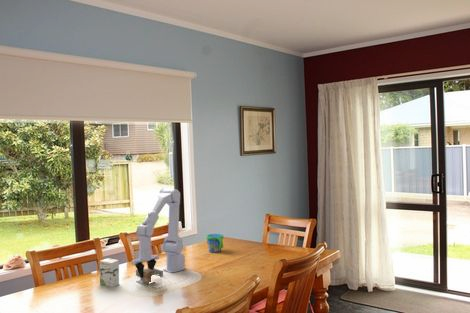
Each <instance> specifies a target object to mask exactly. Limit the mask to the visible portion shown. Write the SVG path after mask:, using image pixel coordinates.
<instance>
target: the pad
mask: <svg viewBox="0 0 470 313" xmlns="http://www.w3.org/2000/svg"><path fill="white" fill-rule="evenodd" d="M138 282H139V283H138ZM135 283H138V284H140V283H142V284H141V285H143V284H144V286H148V285H147V284H149V283H146V282H143V281H141V279H139V280H136V281H135ZM149 285H150V284H149Z"/></svg>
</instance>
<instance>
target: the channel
mask: <svg viewBox="0 0 470 313" xmlns="http://www.w3.org/2000/svg"><path fill="white" fill-rule="evenodd" d="M153 270H154V271H155V275H156V274H159V275H161V276H160V277H163V276H164V270H161V269H157V268H155V267H154V269H153ZM135 275H136V276H139V272H138V270H137V269H135ZM159 275H158V276H159ZM139 277H140V276H139Z"/></svg>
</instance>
